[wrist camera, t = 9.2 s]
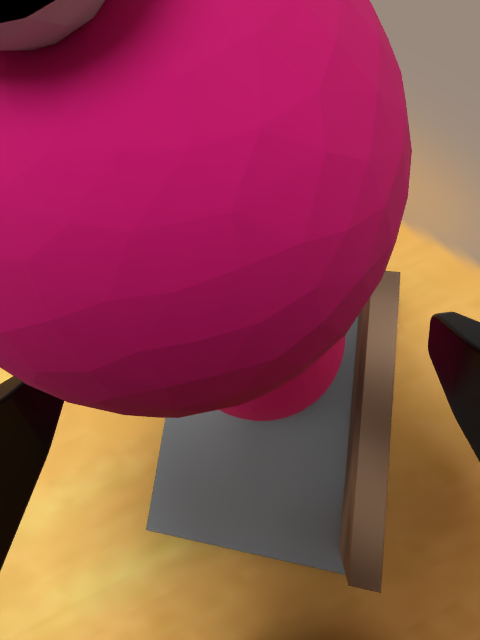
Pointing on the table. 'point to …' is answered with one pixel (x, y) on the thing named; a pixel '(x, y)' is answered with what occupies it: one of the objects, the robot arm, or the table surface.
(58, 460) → the table surface
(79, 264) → the pepper mill
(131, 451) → the table surface
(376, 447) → the stop bar
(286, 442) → the mat
